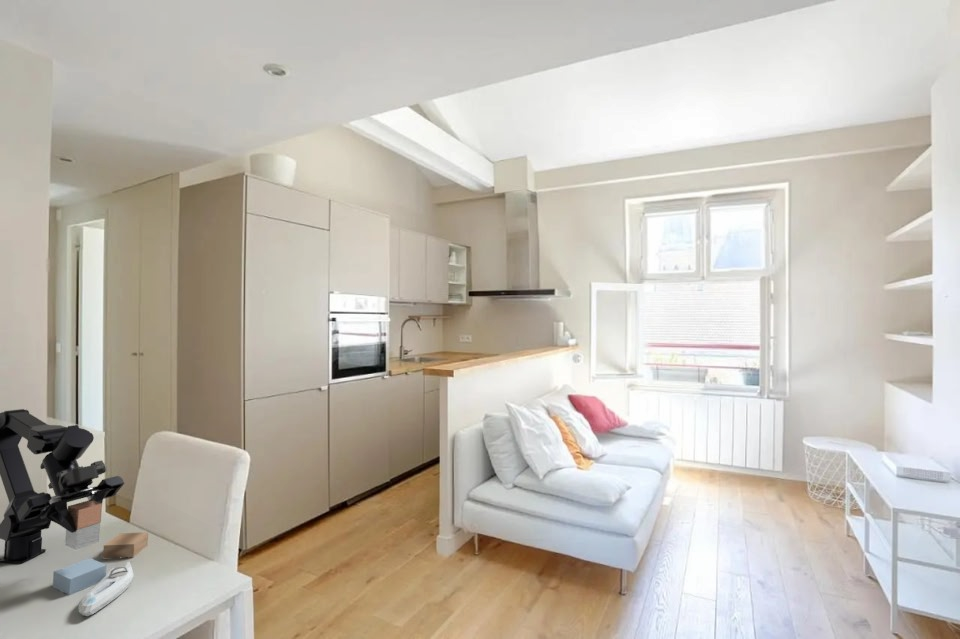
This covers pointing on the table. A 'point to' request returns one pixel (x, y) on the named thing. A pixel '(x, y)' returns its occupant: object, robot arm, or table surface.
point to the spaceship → (107, 589)
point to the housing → (84, 524)
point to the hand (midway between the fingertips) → (86, 527)
